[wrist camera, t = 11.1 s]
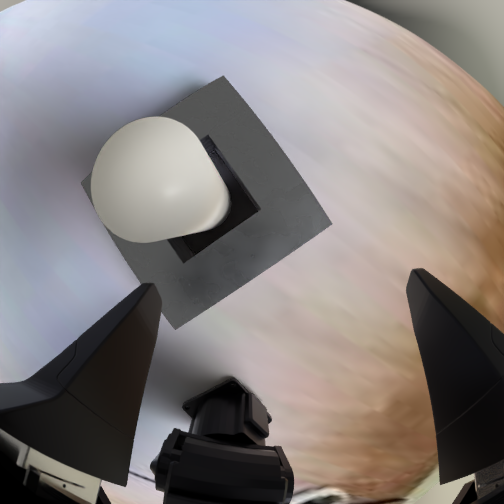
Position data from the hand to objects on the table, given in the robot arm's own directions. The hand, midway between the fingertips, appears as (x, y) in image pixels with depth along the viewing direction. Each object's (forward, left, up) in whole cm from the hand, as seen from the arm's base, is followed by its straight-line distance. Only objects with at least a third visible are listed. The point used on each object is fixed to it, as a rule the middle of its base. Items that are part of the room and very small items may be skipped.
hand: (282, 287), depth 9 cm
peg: (-2, +6, -13) cm, 14 cm away
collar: (-2, +6, -13) cm, 14 cm away
